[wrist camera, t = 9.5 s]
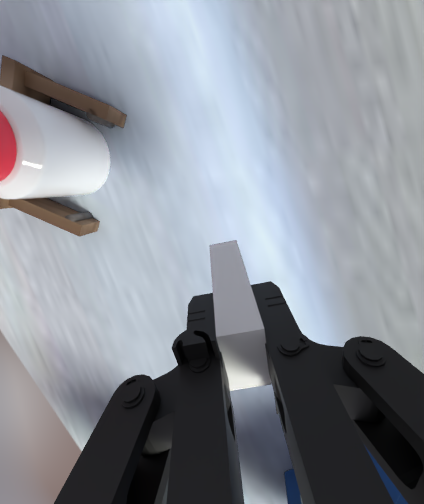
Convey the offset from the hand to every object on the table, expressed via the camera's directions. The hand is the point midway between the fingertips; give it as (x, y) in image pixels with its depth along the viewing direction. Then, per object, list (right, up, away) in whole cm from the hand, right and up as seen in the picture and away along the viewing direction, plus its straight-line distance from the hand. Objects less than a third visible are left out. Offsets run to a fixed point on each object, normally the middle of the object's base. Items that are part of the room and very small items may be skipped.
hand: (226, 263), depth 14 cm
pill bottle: (-15, +11, +12) cm, 22 cm away
